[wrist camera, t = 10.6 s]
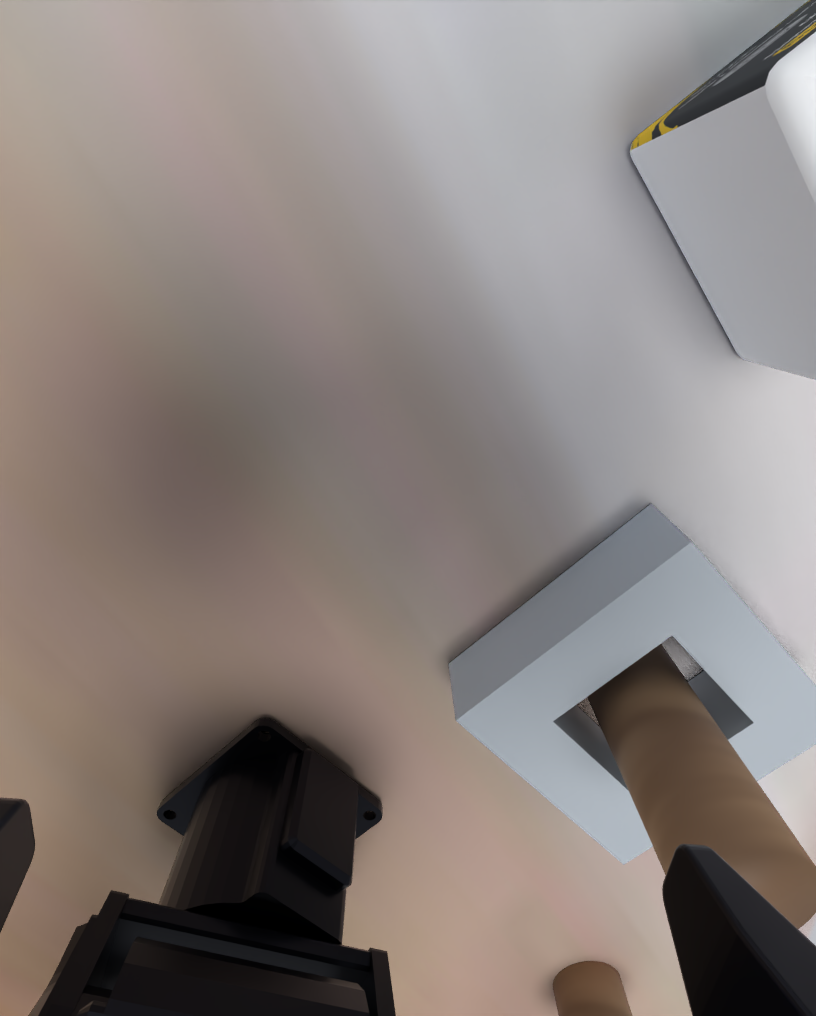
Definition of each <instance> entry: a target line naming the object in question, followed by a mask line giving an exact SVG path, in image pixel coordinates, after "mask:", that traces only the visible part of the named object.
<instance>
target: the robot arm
mask: <svg viewBox="0 0 816 1016" xmlns="http://www.w3.org/2000/svg"><path fill="white" fill-rule="evenodd" d="M261 731H267V732H269V734H264V733H261ZM171 810H172V811H171ZM382 810H383V807H382V803H381V802H380V801H379V800H378V799H376V798H375V797H374V796H372V795H371V794H370V793H368V792H367V791H366V790H365V789H363V788H362V787H361V786H359V785H358V784H357V783H356V782H354V781H353V780H352V779H351V778H349V777H348V776H347V775H345V774H344V773H343V772H341V771H340V770H339V769H337V768H336V767H335V766H334V765H332V764H331V763H330V762H328V761H327V760H326V759H324V758H323V757H322V756H320V755H319V754H318V753H317V752H315V751H314V750H312V749H311V748H310V747H308V746H307V745H306V744H304V743H303V742H302V741H300V740H299V739H298V738H297V737H295V736H294V735H293V734H291V733H290V732H289V731H287V730H286V729H285V728H283V727H282V726H281V725H280V724H278V723H277V722H276V721H274V720H272V719H269V718H261V719H259V720H257V721H255V722H254V723H253V724H252V725H251V726H249V727H248V728H247V729H246V730H245V731H244V732H242V733H241V734H240V735H239V736H238V737H236V738H235V739H234V740H233V741H232V742H231V743H229V744H228V745H227V746H226V747H225V748H224V749H222V750H221V751H220V752H219V753H218V754H216V755H215V756H214V757H213V758H212V759H211V760H209V761H208V762H207V763H206V764H205V765H203V766H202V767H201V768H200V769H199V770H198V771H196V772H195V773H194V774H193V775H192V776H190V777H189V778H188V779H187V780H186V781H185V782H183V783H182V784H181V785H180V786H179V787H178V788H176V789H175V790H174V791H173V792H172V793H170V794H169V795H168V796H167V797H166V798H165V799H163V801H162V802H161V804H160V806H159V808H158V811H157V816H158V818H159V819H160V820H161V821H162V822H163V823H165V824H166V825H168V826H169V827H171V828H172V829H174V830H176V831H177V832H179V833H180V834H182V835H183V836H184V837H183V840H182V843H181V845H180V848H179V851H178V853H177V856H176V859H175V861H174V864H173V867H172V869H171V872H170V875H169V878H168V880H167V883H166V886H165V888H164V891H163V894H162V896H161V899H160V902H159V904H154V903H150V902H145V901H141V900H136V899H132V898H129V894H126V893H121V892H117V891H112V890H111V892H110V894H109V895H108V897H107V899H106V901H105V903H104V905H103V907H102V909H101V911H100V913H99V915H92V916H91V918H90V920H89V922H88V923H86V924H84V925H81V926H78V927H77V928H76V930H75V932H74V934H73V936H72V938H71V940H70V942H69V944H68V946H67V948H66V951H65V953H64V955H63V957H62V959H61V961H60V963H59V965H58V967H57V969H56V971H55V973H54V975H53V977H52V979H51V981H50V982H49V984H48V986H47V988H46V989H45V991H44V993H43V994H42V996H41V997H40V999H39V1000H38V1002H37V1003H36V1005H35V1006H34V1008H33V1009H32V1011H31V1012H30V1014H29V1015H28V1016H396V1015H395V1007H394V1000H393V992H392V985H391V977H390V970H389V962H388V955H387V951H383V950H378V949H374V948H370V949H369V950H368V951H367V950H363V949H358V948H354V947H349V946H345V945H342V937H343V925H344V912H345V900H346V888H347V887H348V886H350V885H351V883H352V876H353V862H354V848H355V839H356V838H358V837H359V836H361V835H362V834H363V833H365V832H366V831H367V830H369V829H370V828H371V827H373V826H374V825H375V824H377V823H378V822H379V821H380V820H381V819H382ZM367 811H373V812H367ZM34 850H35V839H34V832H33V825H32V819H31V812H30V807H29V804H28V803H27V801H26V800H23V799H13V798H0V932H1V930H2V928H3V925H4V923H5V921H6V919H7V916H8V914H9V912H10V909H11V907H12V905H13V903H14V900H15V898H16V896H17V893H18V891H19V889H20V887H21V884H22V882H23V880H24V878H25V875H26V873H27V871H28V868H29V866H30V864H31V861H32V858H33V855H34ZM662 891H663V901H664V906H665V910H666V914H667V918H668V922H669V925H670V929H671V933H672V937H673V941H674V945H675V949H676V953H677V957H678V961H679V965H680V969H681V973H682V977H683V981H684V985H685V989H686V993H687V996H688V1000H689V1004H690V1008H691V1012H692V1015H693V1016H816V946H815V945H814V944H813V943H812V942H811V941H810V940H809V939H808V938H807V937H806V936H805V935H804V934H802V933H801V932H800V931H799V930H798V929H797V928H796V927H795V926H794V925H793V924H792V923H791V922H790V921H789V920H788V919H786V918H785V917H784V916H783V915H782V914H781V913H780V912H779V911H778V910H777V909H776V908H775V907H774V906H773V905H772V904H771V903H769V902H768V901H767V900H766V899H765V898H764V897H763V896H762V895H761V894H760V893H759V892H758V891H757V890H756V889H755V888H753V887H752V886H751V885H750V884H749V883H748V882H747V881H746V880H745V879H744V878H743V877H742V876H741V875H740V874H739V873H737V872H736V871H735V870H734V869H733V868H732V867H731V866H730V865H729V864H728V863H727V862H726V861H725V860H724V859H723V858H721V857H720V856H719V855H718V854H717V853H716V852H715V851H714V850H713V849H711V848H710V847H708V846H705V845H694V844H680V845H679V846H678V847H677V848H676V850H675V852H674V855H673V857H672V860H671V863H670V866H669V868H668V871H667V874H666V876H665V879H664V882H663V889H662Z"/></svg>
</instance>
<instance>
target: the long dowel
mask: <svg viewBox="0 0 816 1016" xmlns="http://www.w3.org/2000/svg"><path fill="white" fill-rule="evenodd" d="M587 697H588V700H589V702H590V704H591V706H592V709H593V711H594V713H595V715H596V718H597V720H598V722H599V725H600V727H601V729H602V731H603V734H604V736H605V738H606V740H607V743H608V745H609V747H610V750H611V752H612V754H613V756H614V759H615V761H616V763H617V765H618V768H619V770H620V772H621V775H622V777H623V779H624V781H625V784H626V786H627V788H628V790H629V793H630V795H631V797H632V800H633V802H634V804H635V806H636V809H637V811H638V813H639V815H640V818H641V820H642V822H643V825H644V827H645V829H646V831H647V834H648V836H649V838H650V840H651V843H652V845H653V847H654V850H655V852H656V854H657V856H658V859H659V861H660V863H661V865H662V868H663V870H664V872H665V875H666V874H667V871H668V868H669V866H670V863H671V860H672V857H673V855H674V852H675V850H676V848H677V847H678V846H679V845H680V844H694V845H705V846H708V847H710V848H711V849H713V850H714V851H715V852H716V853H717V854H718V855H719V856H720V857H721V858H723V859H724V860H725V861H726V862H727V863H728V864H729V865H730V866H731V867H732V868H733V869H734V870H735V871H736V872H737V873H739V874H740V875H741V876H742V877H743V878H744V879H745V880H746V881H747V882H748V883H749V884H750V885H751V886H752V887H753V888H755V889H756V890H757V891H758V892H759V893H760V894H761V895H762V896H763V897H764V898H765V899H766V900H767V901H768V902H769V903H771V904H772V905H773V906H774V907H775V908H776V909H777V910H778V911H779V912H780V913H781V914H782V915H783V916H784V917H785V918H786V919H788V920H789V921H790V922H791V923H792V924H793V925H794V926H795V927H796V928H797V929H799V928H800V927H802V926H803V925H804V924H805V923H806V922H807V921H809V920H810V919H811V917H812V916H813V915H814V914H815V913H816V866H815V865H814V863H813V862H812V860H811V859H810V858H809V856H808V855H807V853H806V852H805V850H804V849H803V847H802V846H801V845H800V843H799V842H798V840H797V839H796V837H795V836H794V834H793V833H792V832H791V830H790V829H789V827H788V826H787V824H786V823H785V822H784V820H783V819H782V817H781V816H780V814H779V813H778V811H777V810H776V809H775V807H774V806H773V804H772V803H771V801H770V800H769V798H768V797H767V796H766V794H765V793H764V791H763V790H762V788H761V787H760V786H759V784H758V783H757V781H756V780H755V778H754V777H753V775H752V774H751V773H750V771H749V770H748V768H747V767H746V765H745V764H744V763H743V761H742V760H741V758H740V757H739V755H738V754H737V752H736V751H735V750H734V748H733V747H732V745H731V744H730V742H729V741H728V739H727V738H726V737H725V735H724V734H723V732H722V731H721V729H720V728H719V727H718V725H717V724H716V722H715V721H714V719H713V718H712V716H711V715H710V714H709V712H708V711H707V709H706V708H705V706H704V705H703V703H702V702H701V701H700V699H699V698H698V696H697V695H696V693H695V692H694V691H693V689H692V688H691V686H690V685H689V683H688V682H687V680H686V679H685V678H684V676H683V675H682V673H681V672H680V670H679V669H678V668H677V666H676V665H675V663H674V662H673V660H672V659H671V657H670V656H669V655H668V653H667V652H666V650H665V649H664V647H663V646H662V644H660V645H658V646H657V647H655V648H654V649H653V650H651V651H650V652H649V653H647V654H646V655H644V656H643V657H642V658H640V659H639V660H637V661H636V662H635V663H633V664H632V665H630V666H629V667H628V668H626V669H625V670H624V671H622V672H621V673H619V674H618V675H617V676H615V677H614V678H612V679H611V680H610V681H608V682H607V683H606V684H604V685H603V686H601V687H600V688H599V689H597V690H596V691H594V692H593V693H592V694H590V695H589V696H587Z"/></svg>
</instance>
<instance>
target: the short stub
mask: <svg viewBox="0 0 816 1016" xmlns="http://www.w3.org/2000/svg"><path fill="white" fill-rule="evenodd" d="M553 990H554V995H555V1000H556V1004H557V1009H558V1014H559V1016H632V1013H631V1010H630V1007H629V1004H628V1001H627V997H626V994H625V991H624V988H623V985H622V981H621V978H620V975H619V973H618V971H617V970H616V969H615V968H614V967H612V966H611V965H608V964H606V963H603V962H598V961H584V962H579V963H575V964H572V965H570V966H568V967H566V968H564V969H563V970H562V971H560V972H559V973H558V974H557V976H556V977H555V979H554V982H553Z"/></svg>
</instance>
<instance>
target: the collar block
mask: <svg viewBox="0 0 816 1016" xmlns="http://www.w3.org/2000/svg"><path fill="white" fill-rule="evenodd" d="M671 636H673V637H674V638H675V639H676V640H677V641H678V642H679V643H680V644H681V646H682V647H683V648H684V649H685V650H686V651H687V652H688V653H689V654H690V655H691V656H692V657H693V658H694V659H695V660H696V662H697V663H698V664H699V665H700V666H701V667H702V668H703V669H704V671H703V672H701V673H700V674H698V675H697V676H695V677H694V678H693V679H691V680H690V681H688V683H689V685H690V686H691V688H692V689H693V691H694V692H695V693H696V695H697V696H698V698H699V699H700V701H701V702H702V703H703V705H704V706H705V708H706V709H707V711H708V712H709V714H710V715H711V716H712V718H713V719H714V721H715V722H716V724H717V725H718V727H719V728H720V729H721V731H722V732H723V734H724V735H725V737H726V738H727V739H728V741H729V742H730V744H731V745H732V747H733V748H734V750H735V751H736V752H737V754H738V755H739V757H740V758H741V760H742V761H743V763H744V764H745V765H746V767H747V768H748V770H749V771H750V773H751V774H752V775H753V777H754V778H755V780H756V781H758V780H760V779H761V778H763V777H764V776H766V775H768V774H769V773H771V772H772V771H774V770H776V769H777V768H779V767H780V766H782V765H784V764H785V763H787V762H788V761H790V760H792V759H793V758H795V757H796V756H798V755H800V754H801V753H803V752H804V751H806V750H808V749H809V748H811V747H812V746H814V745H816V685H815V684H814V683H813V681H812V680H811V679H810V678H809V677H808V676H807V674H806V673H805V672H804V671H803V670H802V669H801V667H800V666H799V665H798V664H797V663H796V662H795V661H794V659H793V658H792V657H791V656H790V655H789V654H788V652H787V651H786V650H785V649H784V648H783V647H782V645H781V644H780V643H779V642H778V641H777V640H776V638H775V637H774V636H773V635H772V634H771V633H770V632H769V630H768V629H767V628H766V627H765V626H764V625H763V623H762V622H761V621H760V620H759V619H758V618H757V616H756V615H755V614H754V613H753V612H752V611H751V609H750V608H749V607H748V606H747V605H746V604H745V602H744V601H743V600H742V599H741V598H740V597H739V596H738V594H737V593H736V592H735V591H734V590H733V589H732V587H731V586H730V585H729V584H728V583H727V582H726V580H725V579H724V578H723V577H722V576H721V575H720V573H719V572H718V571H717V570H716V569H715V568H714V567H713V565H712V564H711V563H710V562H709V561H708V560H707V558H706V557H705V556H704V555H703V554H702V553H701V551H700V550H699V549H698V548H697V547H696V546H695V544H694V543H693V542H692V541H691V540H690V539H689V538H688V537H687V536H686V535H685V534H683V533H682V532H681V531H680V530H679V529H678V528H677V527H676V526H675V525H674V524H673V523H672V522H671V521H670V520H669V519H668V518H667V517H665V516H664V515H663V514H662V513H661V512H660V511H659V510H658V509H657V508H656V507H655V506H654V505H653V504H652V503H651V504H650V505H649V506H647V507H646V508H645V509H643V510H642V511H641V512H640V513H638V514H637V515H636V516H635V517H633V518H632V519H631V520H630V521H628V522H627V523H626V524H625V525H623V526H622V527H621V528H619V529H618V530H617V531H616V532H614V533H613V534H612V535H611V536H609V537H608V538H607V539H606V540H604V541H603V542H602V543H601V544H599V545H598V546H597V547H595V548H594V549H593V550H592V551H590V552H589V553H588V554H587V555H585V556H584V557H583V558H582V559H580V560H579V561H578V562H577V563H575V564H574V565H573V566H571V567H570V568H569V569H568V570H566V571H565V572H564V573H563V574H561V575H560V576H559V577H558V578H556V579H555V580H554V581H552V582H551V583H550V584H549V585H547V586H546V587H545V588H544V589H542V590H541V591H540V592H539V593H537V594H536V595H535V596H534V597H532V598H531V599H530V600H528V601H527V602H526V603H525V604H523V605H522V606H521V607H520V608H518V609H517V610H516V611H515V612H513V613H512V614H511V615H510V616H508V617H507V618H506V619H504V620H503V621H502V622H501V623H499V624H498V625H497V626H496V627H494V628H493V629H492V630H491V631H489V632H488V633H487V634H486V635H484V636H483V637H482V638H480V639H479V640H478V641H477V642H475V643H474V644H473V645H472V646H470V647H469V648H468V649H467V650H465V651H464V652H463V653H462V654H460V655H459V656H458V657H456V658H455V659H454V660H453V661H451V662H450V663H449V664H448V665H449V672H450V680H451V688H452V696H453V704H454V711H455V719H456V721H457V722H458V723H459V724H460V725H461V726H462V727H464V728H465V729H466V730H467V731H468V732H469V733H471V734H472V735H473V736H474V737H475V738H476V739H478V740H479V741H480V742H481V743H482V744H483V745H485V746H486V747H487V748H488V749H489V750H490V751H492V752H493V753H494V754H495V755H496V756H497V757H499V758H500V759H501V760H502V761H503V762H504V763H506V764H507V765H508V766H509V767H510V768H511V769H513V770H514V771H515V772H516V773H517V774H518V775H520V776H521V777H522V778H523V779H524V780H525V781H527V782H528V783H529V784H530V785H531V786H532V787H534V788H535V789H536V790H537V791H538V792H539V793H541V794H542V795H543V796H544V797H545V798H546V799H548V800H549V801H550V802H551V803H552V804H553V805H555V806H556V807H557V808H558V809H559V810H560V811H562V812H563V813H564V814H565V815H566V816H567V817H569V818H570V819H571V820H572V821H573V822H574V823H576V824H577V825H578V826H579V827H580V828H581V829H583V830H584V831H585V832H586V833H587V834H588V835H590V836H591V837H592V838H593V839H594V840H595V841H597V842H598V843H599V844H600V845H601V846H602V847H604V848H605V849H606V850H607V851H608V852H609V853H611V854H612V855H613V856H614V857H615V858H616V859H618V860H619V861H620V862H621V863H622V864H623V865H624V864H626V863H627V862H629V861H630V860H632V859H634V858H635V857H637V856H638V855H640V854H642V853H643V852H645V851H646V850H648V849H650V848H651V847H653V845H652V843H651V840H650V838H649V836H648V834H647V831H646V829H645V827H644V825H643V822H642V820H641V818H640V815H639V813H638V811H637V809H636V806H635V804H634V802H633V800H632V797H631V795H630V793H629V790H628V788H627V786H626V784H625V781H624V779H623V777H622V775H621V772H620V770H619V768H618V765H617V763H616V761H615V759H614V756H613V754H612V752H611V750H610V747H609V745H608V743H607V740H606V738H605V736H604V734H603V731H602V729H601V728H600V727H599V726H598V725H597V724H596V723H595V722H594V721H593V720H592V719H591V718H590V717H588V716H587V715H586V714H585V713H584V712H583V711H582V710H581V709H580V708H579V707H578V706H577V705H576V704H578V703H579V702H581V701H582V700H583V699H585V698H586V697H587V696H589V695H590V694H592V693H593V692H594V691H596V690H597V689H599V688H600V687H601V686H603V685H604V684H606V683H607V682H608V681H610V680H611V679H612V678H614V677H615V676H617V675H618V674H619V673H621V672H622V671H624V670H625V669H626V668H628V667H629V666H630V665H632V664H633V663H635V662H636V661H637V660H639V659H640V658H642V657H643V656H644V655H646V654H647V653H649V652H650V651H651V650H653V649H654V648H655V647H657V646H658V645H660V644H661V643H662V642H664V641H665V640H667V639H668V638H669V637H671Z"/></svg>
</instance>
